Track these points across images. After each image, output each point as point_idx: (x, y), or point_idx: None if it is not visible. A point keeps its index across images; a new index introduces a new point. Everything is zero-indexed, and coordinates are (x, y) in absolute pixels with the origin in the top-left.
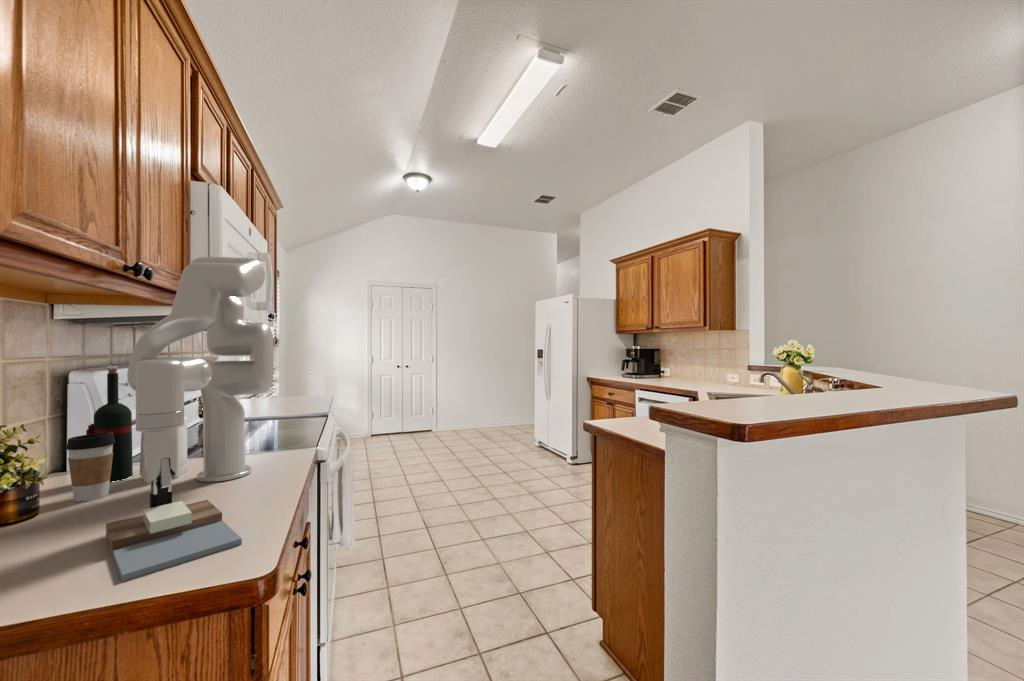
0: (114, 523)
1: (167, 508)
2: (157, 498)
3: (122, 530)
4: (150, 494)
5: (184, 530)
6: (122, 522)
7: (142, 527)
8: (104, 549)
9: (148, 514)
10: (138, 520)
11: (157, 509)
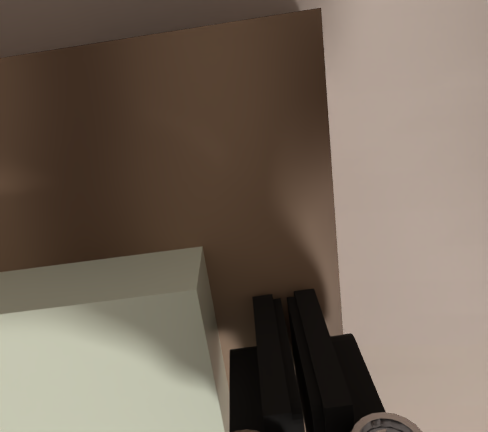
0: (265, 73)
1: (95, 424)
2: (229, 425)
3: (31, 137)
4: (325, 406)
5: None
6: (245, 126)
7: (21, 249)
8: (41, 24)
9: (15, 327)
10: (214, 222)
11: (119, 374)
